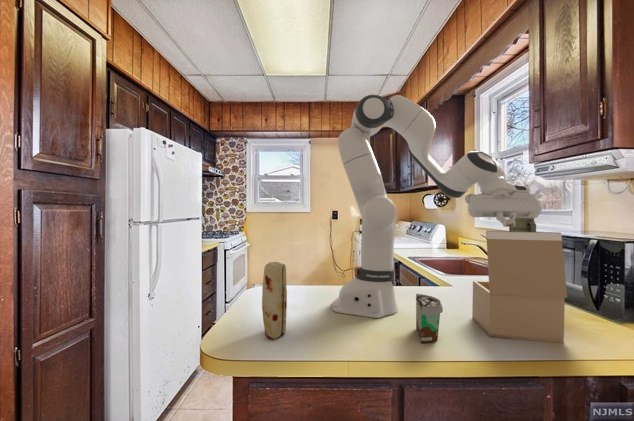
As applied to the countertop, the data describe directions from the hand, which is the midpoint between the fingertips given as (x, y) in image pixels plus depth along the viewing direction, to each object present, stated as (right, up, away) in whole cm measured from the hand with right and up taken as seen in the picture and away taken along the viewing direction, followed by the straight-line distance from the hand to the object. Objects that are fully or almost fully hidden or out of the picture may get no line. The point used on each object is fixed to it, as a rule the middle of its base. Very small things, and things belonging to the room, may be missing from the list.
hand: (509, 225), depth 90 cm
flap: (-2, -10, -9) cm, 13 cm away
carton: (-1, -30, -3) cm, 30 cm away
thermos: (+22, -30, +28) cm, 46 cm away
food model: (-70, -30, -8) cm, 76 cm away
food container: (-27, -30, -8) cm, 41 cm away
